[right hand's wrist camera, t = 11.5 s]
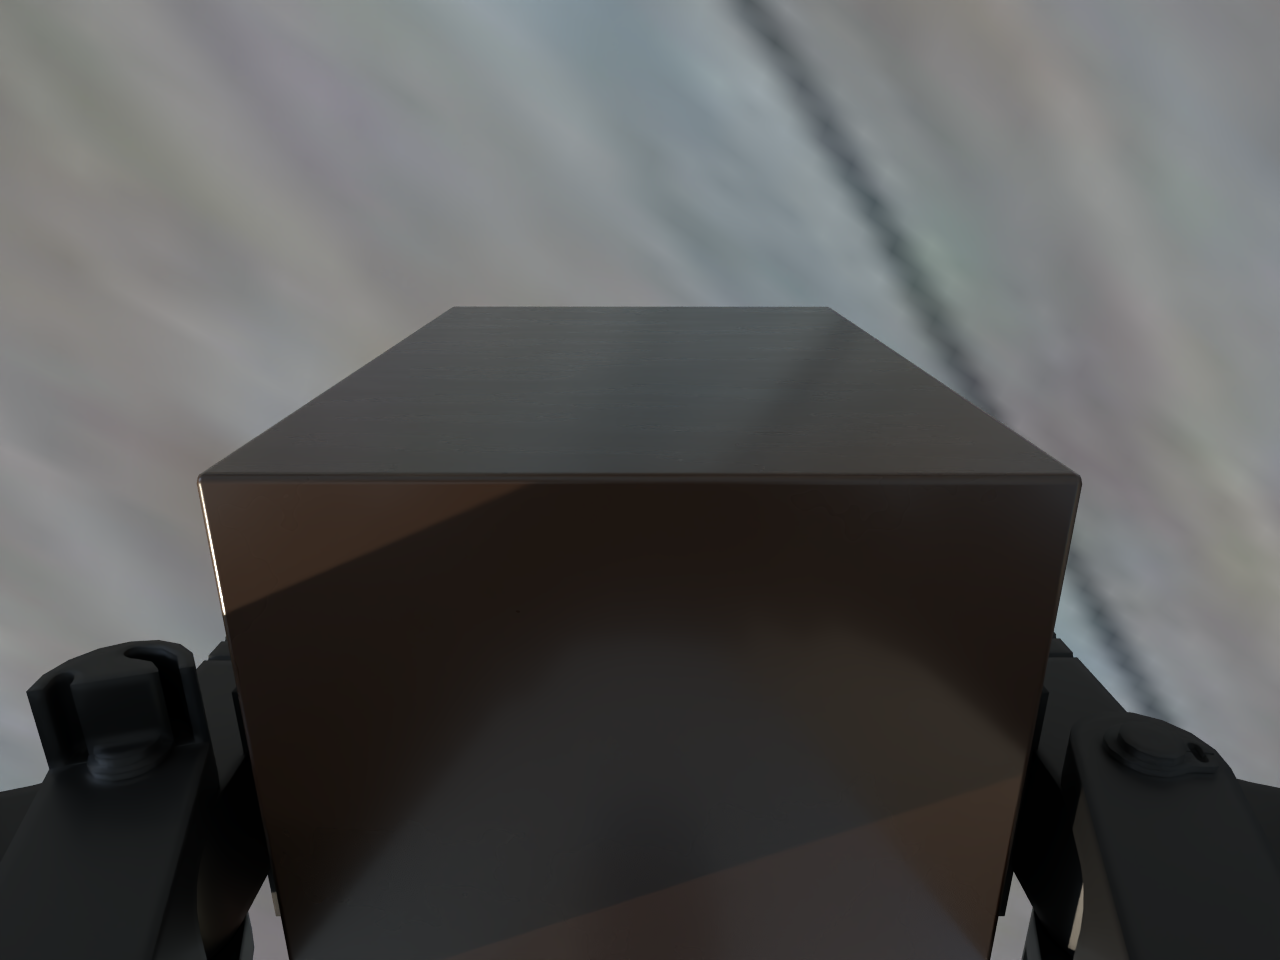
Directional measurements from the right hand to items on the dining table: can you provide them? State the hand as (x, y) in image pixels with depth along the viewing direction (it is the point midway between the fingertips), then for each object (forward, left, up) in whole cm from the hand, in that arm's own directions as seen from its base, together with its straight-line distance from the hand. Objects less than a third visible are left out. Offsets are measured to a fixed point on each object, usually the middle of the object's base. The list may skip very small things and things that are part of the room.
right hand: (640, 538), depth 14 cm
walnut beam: (+12, +7, 0) cm, 14 cm away
